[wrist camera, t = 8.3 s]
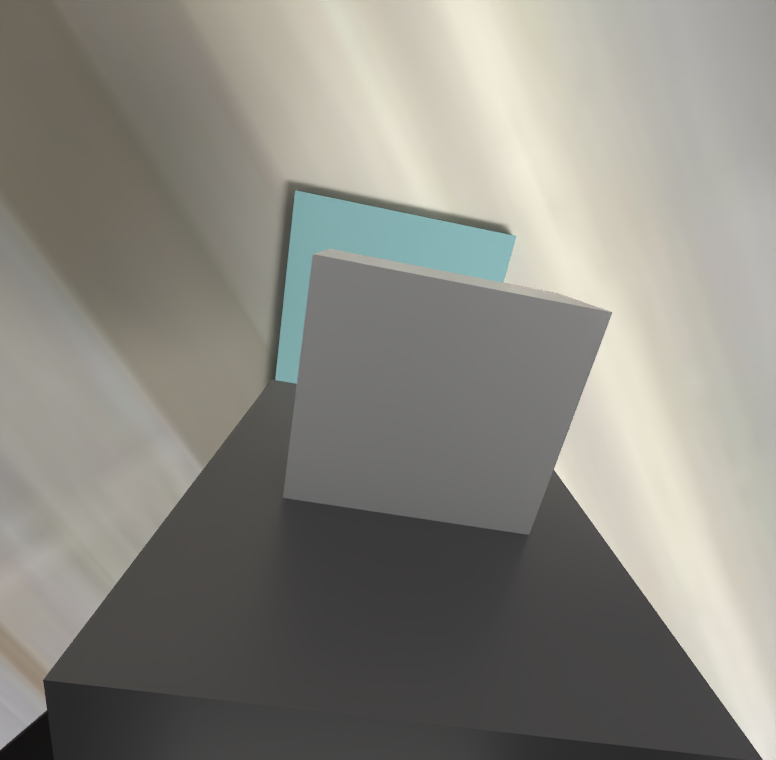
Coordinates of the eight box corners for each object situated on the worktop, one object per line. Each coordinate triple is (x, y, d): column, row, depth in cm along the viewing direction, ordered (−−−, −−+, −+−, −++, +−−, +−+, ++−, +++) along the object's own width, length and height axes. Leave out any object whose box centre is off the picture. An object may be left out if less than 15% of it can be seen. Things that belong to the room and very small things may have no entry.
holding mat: (429, 537, 20) (430, 543, 19) (263, 512, 19) (260, 518, 19) (512, 235, 15) (516, 235, 15) (297, 191, 15) (295, 190, 14)
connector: (412, 747, 10) (437, 1177, 6) (236, 728, 10) (106, 1166, 5) (563, 286, 7) (1025, 427, 2) (286, 232, 6) (-15, 233, 2)
